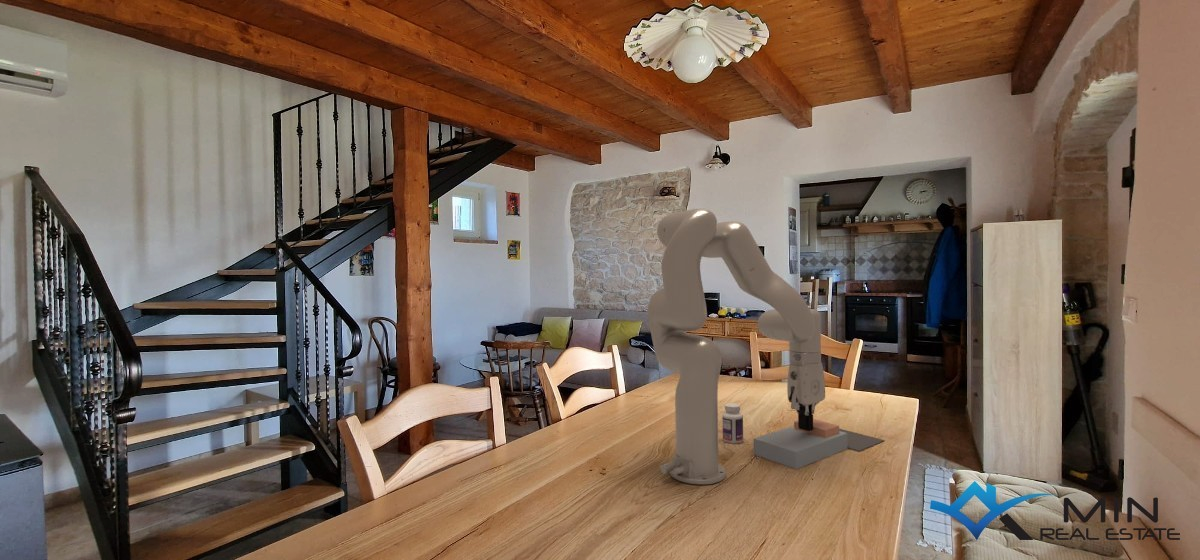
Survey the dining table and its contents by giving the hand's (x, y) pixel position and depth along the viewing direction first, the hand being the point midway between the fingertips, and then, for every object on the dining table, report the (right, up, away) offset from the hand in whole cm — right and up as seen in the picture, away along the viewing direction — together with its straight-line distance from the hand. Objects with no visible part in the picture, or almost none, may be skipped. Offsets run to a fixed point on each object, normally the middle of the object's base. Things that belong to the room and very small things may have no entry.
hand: (805, 429), depth 131 cm
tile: (+4, -1, +2) cm, 4 cm away
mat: (+14, -5, +7) cm, 17 cm away
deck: (-2, -5, -1) cm, 6 cm away
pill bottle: (-17, -6, +8) cm, 19 cm away
